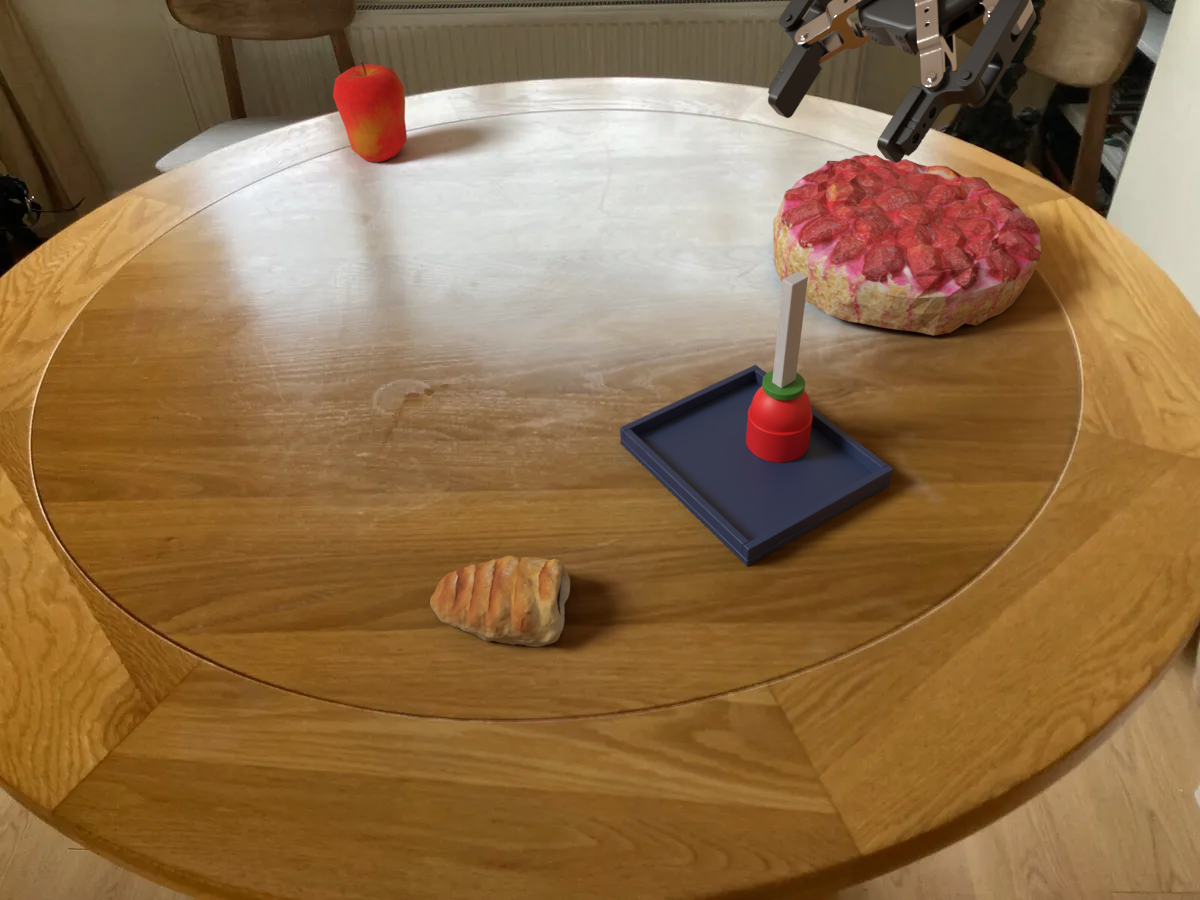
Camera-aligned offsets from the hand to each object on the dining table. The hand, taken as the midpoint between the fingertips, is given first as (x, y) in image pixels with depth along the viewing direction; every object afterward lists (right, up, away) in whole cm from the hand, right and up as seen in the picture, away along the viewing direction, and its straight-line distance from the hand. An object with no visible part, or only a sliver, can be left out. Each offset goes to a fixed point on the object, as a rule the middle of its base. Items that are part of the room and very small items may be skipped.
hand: (829, 132), depth 57 cm
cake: (+16, -1, +39) cm, 42 cm away
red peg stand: (+1, -18, +20) cm, 27 cm away
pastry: (-20, -30, +9) cm, 37 cm away
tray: (-2, -20, +19) cm, 28 cm away
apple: (-41, +18, +64) cm, 78 cm away
